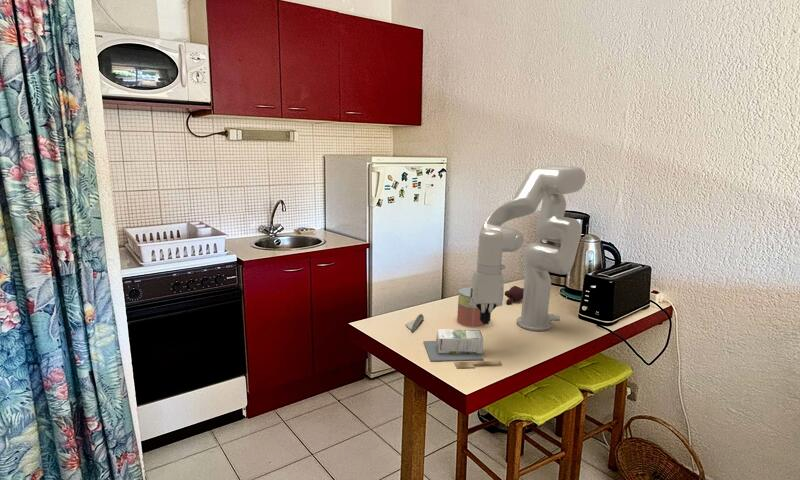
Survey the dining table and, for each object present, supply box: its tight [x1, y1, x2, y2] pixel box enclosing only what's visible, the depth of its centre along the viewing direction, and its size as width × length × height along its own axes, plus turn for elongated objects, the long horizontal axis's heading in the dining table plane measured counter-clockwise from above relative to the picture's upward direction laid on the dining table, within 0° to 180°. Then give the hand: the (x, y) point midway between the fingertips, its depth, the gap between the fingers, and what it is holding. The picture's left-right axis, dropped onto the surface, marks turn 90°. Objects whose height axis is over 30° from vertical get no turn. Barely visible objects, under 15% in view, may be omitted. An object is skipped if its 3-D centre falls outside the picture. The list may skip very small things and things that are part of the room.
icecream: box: [504, 285, 524, 305], centre depth 197 cm, size 7×7×15 cm
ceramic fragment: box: [405, 313, 425, 334], centre depth 169 cm, size 14×5×4 cm, turn 160°
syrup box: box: [435, 328, 484, 355], centre depth 148 cm, size 6×6×14 cm
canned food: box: [456, 286, 487, 329], centre depth 172 cm, size 11×11×12 cm
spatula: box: [453, 360, 503, 370], centre depth 140 cm, size 14×4×1 cm, turn 96°
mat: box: [423, 340, 485, 363], centre depth 149 cm, size 17×14×1 cm
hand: (484, 322), depth 148 cm, fingers closed
